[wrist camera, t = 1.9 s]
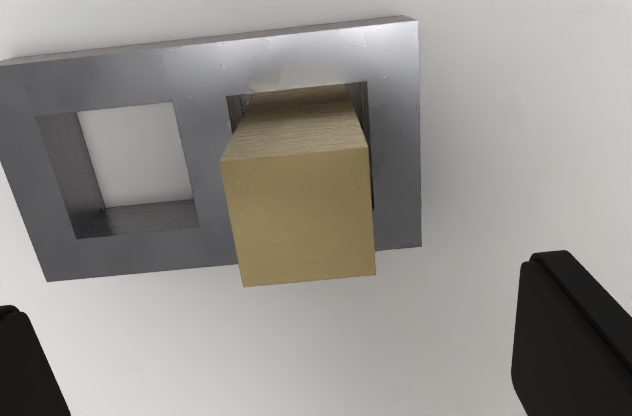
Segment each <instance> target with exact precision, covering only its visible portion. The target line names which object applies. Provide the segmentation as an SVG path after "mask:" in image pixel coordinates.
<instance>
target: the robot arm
mask: <svg viewBox="0 0 632 416" xmlns="http://www.w3.org/2000/svg"><path fill="white" fill-rule="evenodd" d="M511 377H512V383H513V386H514V389H515V391H516V394H517V396H518V398H519V400H520V401H521V403H522V405H523V407H524V409H525V411H526V413H527V415H528V416H632V317H631V316H630V315H629V314H628V313H627V312H626V311H625V310H624V309H623V308H622V307H621V306H620V305H619V304H618V303H617V301H616V300H615V299H614V298H613V297H612V296H611V295H610V294H609V293H608V292H607V291H606V290H605V289H604V288H603V287H602V286H601V285H600V284H599V283H598V282H597V281H596V280H595V278H594V277H593V276H592V275H591V274H590V273H589V272H588V271H587V270H586V269H585V268H584V267H583V266H582V265H581V264H580V263H579V262H578V261H577V260H576V259H575V258H574V257H573V256H572V254H571V253H569V252H568V251H566V250H560V251H550V252H540V253H534V254H532V255H531V257H530V260H529V261H528V262H523V263H522V265H521V269H520V279H519V290H518V301H517V312H516V323H515V334H514V345H513V356H512V366H511ZM0 416H71V414H70V411H69V409H68V406H67V404H66V402H65V399H64V397H63V395H62V393H61V390H60V388H59V386H58V383H57V381H56V379H55V377H54V374H53V372H52V370H51V367H50V365H49V363H48V361H47V358H46V356H45V354H44V351H43V349H42V347H41V345H40V342H39V340H38V338H37V335H36V333H35V331H34V328H33V326H32V324H31V322H30V319H29V317H28V316H27V314H25V313H24V312H20V311H19V309H18V308H16V307H15V306H12V305H5V306H0Z"/></svg>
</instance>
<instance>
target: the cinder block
mask: <svg viewBox="0 0 632 416" xmlns="http://www.w3.org/2000/svg"><path fill="white" fill-rule="evenodd" d="M354 82H360V88H361V104H362V119H363V134H364V137H365V140H366V142H367V145H368V153H369V170H370V186H371V203H372V219H373V236H374V251H381V250H392V249H402V248H413V247H422V239H421V173H420V108H419V43H418V20H415V19H412V18H409V17H406V16H394V17H384V18H375V19H366V20H357V21H348V22H339V23H329V24H320V25H311V26H302V27H293V28H284V29H274V30H265V31H256V32H247V33H238V34H228V35H219V36H210V37H201V38H192V39H183V40H173V41H164V42H155V43H146V44H137V45H128V46H118V47H109V48H100V49H91V50H82V51H72V52H63V53H54V54H45V55H36V56H27V57H17V58H11V59H7V60H3V61H0V161H1V164H2V167H3V169H4V172H5V174H6V177H7V180H8V182H9V185H10V188H11V190H12V193H13V195H14V198H15V201H16V203H17V206H18V208H19V211H20V214H21V216H22V219H23V221H24V224H25V227H26V229H27V232H28V234H29V237H30V240H31V242H32V245H33V247H34V250H35V253H36V255H37V258H38V260H39V263H40V266H41V268H42V271H43V273H44V276H45V279H46V281H47V282H53V281H63V280H74V279H85V278H95V277H106V276H116V275H127V274H137V273H148V272H159V271H169V270H180V269H190V268H201V267H212V266H222V265H233V264H239V262H238V257H237V252H236V247H235V241H234V236H233V231H232V226H231V221H230V215H229V210H228V205H227V200H226V195H225V189H224V184H223V179H222V174H221V169H220V163H219V161H220V159H221V157H222V155H223V153H224V152H225V150H226V148H227V146H228V144H229V142H230V140H231V138H232V136H233V134H234V132H235V130H236V128H237V126H238V124H239V122H240V120H241V118H242V117H243V114H242V108H241V102H240V96H239V95H240V94H250V93H259V92H269V91H278V90H288V89H297V88H307V87H316V86H326V85H335V84H345V83H354ZM164 102H173V106H174V110H175V115H176V119H177V124H178V128H179V133H180V137H181V142H182V146H183V151H184V155H185V160H186V164H187V169H188V174H189V178H190V183H191V187H192V192H193V196H194V200H184V201H174V202H164V203H154V204H144V205H134V206H124V207H113V208H105V206H104V203H103V200H102V196H101V193H100V190H99V187H98V183H97V180H96V177H95V173H94V170H93V167H92V164H91V160H90V157H89V154H88V150H87V147H86V144H85V141H84V137H83V134H82V131H81V127H80V124H79V121H78V118H77V114H76V112H78V111H88V110H97V109H107V108H116V107H126V106H135V105H145V104H154V103H164Z"/></svg>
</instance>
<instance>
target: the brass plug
mask: <svg viewBox="0 0 632 416" xmlns="http://www.w3.org/2000/svg"><path fill="white" fill-rule="evenodd" d="M219 163H220V169H221V174H222V179H223V184H224V189H225V195H226V200H227V205H228V210H229V215H230V221H231V226H232V231H233V236H234V241H235V247H236V252H237V257H238V262H239V268H240V273H241V278H242V283H243V287H251V286H262V285H273V284H284V283H295V282H305V281H316V280H327V279H338V278H348V277H359V276H370V275H376V269H375V252H374V236H373V219H372V203H371V186H370V170H369V153H368V145H367V142H366V140H365V137H364V134H363V131H362V129H361V126H360V123H359V120H358V118H357V115H356V112H355V109H354V107H353V104H352V101H351V98H350V96H349V93H348V90H347V87H346V85H336V86H326V87H317V88H307V89H298V90H288V91H279V92H269V93H260V94H254V95H253V97H252V99H251V101H250V103H249V105H248V107H247V109H246V111H245V113H244V115H243V117H242V118H241V120H240V122H239V124H238V126H237V128H236V130H235V132H234V134H233V136H232V138H231V140H230V142H229V144H228V146H227V148H226V150H225V152H224V153H223V155H222V157H221V159H220V161H219Z"/></svg>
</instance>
